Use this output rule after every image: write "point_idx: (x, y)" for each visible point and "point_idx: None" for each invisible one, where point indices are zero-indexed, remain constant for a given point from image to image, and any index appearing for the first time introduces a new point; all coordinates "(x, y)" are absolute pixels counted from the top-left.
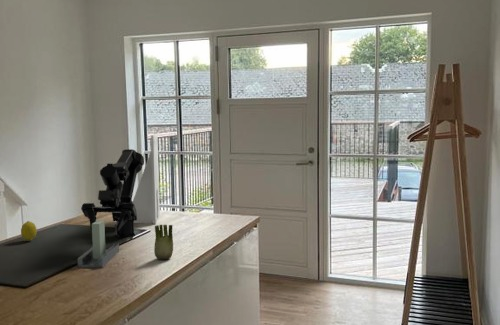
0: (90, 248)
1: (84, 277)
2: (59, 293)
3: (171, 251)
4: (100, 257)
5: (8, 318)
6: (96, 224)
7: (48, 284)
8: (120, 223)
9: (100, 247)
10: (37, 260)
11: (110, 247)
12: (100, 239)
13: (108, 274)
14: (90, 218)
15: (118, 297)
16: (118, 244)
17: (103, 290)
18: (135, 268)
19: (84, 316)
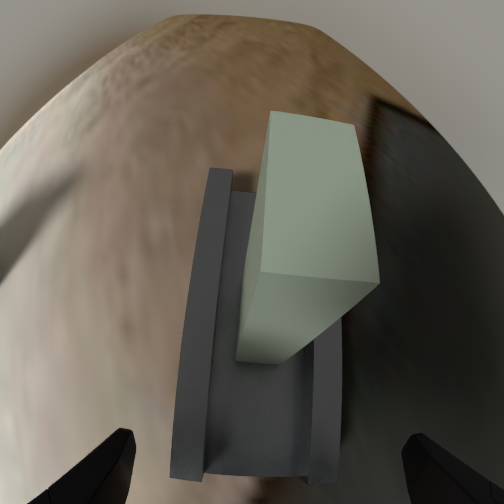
0: (340, 362)
1: (253, 122)
2: (278, 62)
3: None
4: (222, 182)
5: (312, 27)
6: (301, 119)
7: (335, 101)
8: (74, 467)
9: (247, 252)
10: (500, 314)
11: (205, 376)
12: (251, 227)
13: (176, 135)
14: (500, 497)
15: (147, 47)
16: (170, 470)
17: (179, 63)
18: (81, 181)
19: (199, 18)
